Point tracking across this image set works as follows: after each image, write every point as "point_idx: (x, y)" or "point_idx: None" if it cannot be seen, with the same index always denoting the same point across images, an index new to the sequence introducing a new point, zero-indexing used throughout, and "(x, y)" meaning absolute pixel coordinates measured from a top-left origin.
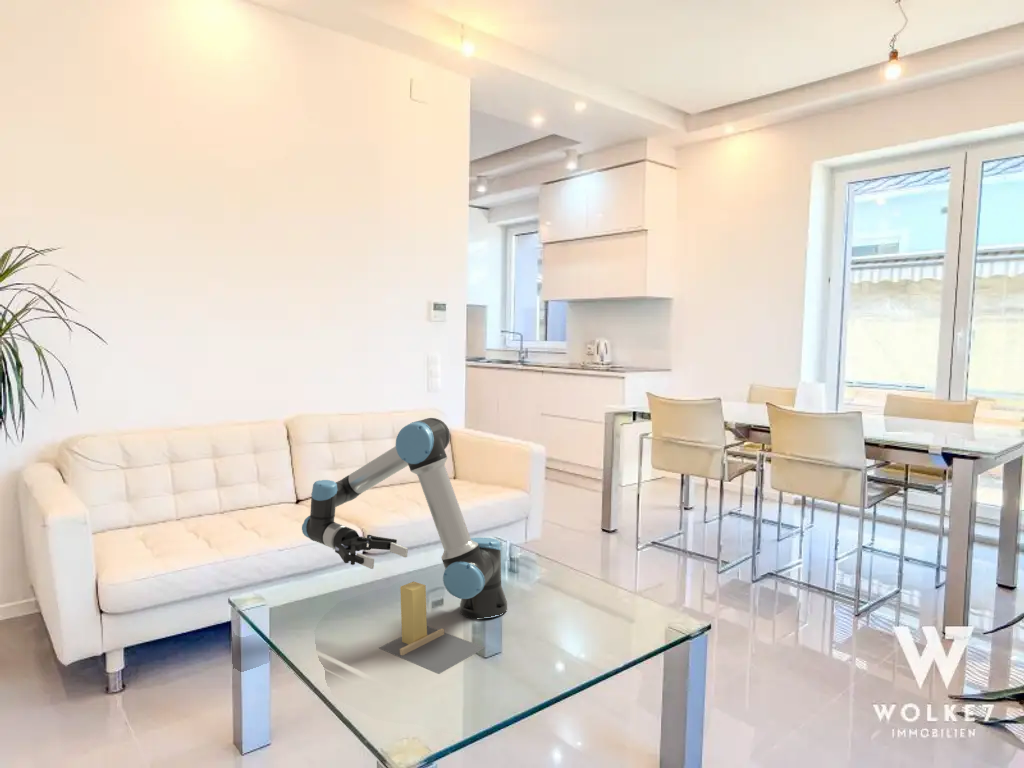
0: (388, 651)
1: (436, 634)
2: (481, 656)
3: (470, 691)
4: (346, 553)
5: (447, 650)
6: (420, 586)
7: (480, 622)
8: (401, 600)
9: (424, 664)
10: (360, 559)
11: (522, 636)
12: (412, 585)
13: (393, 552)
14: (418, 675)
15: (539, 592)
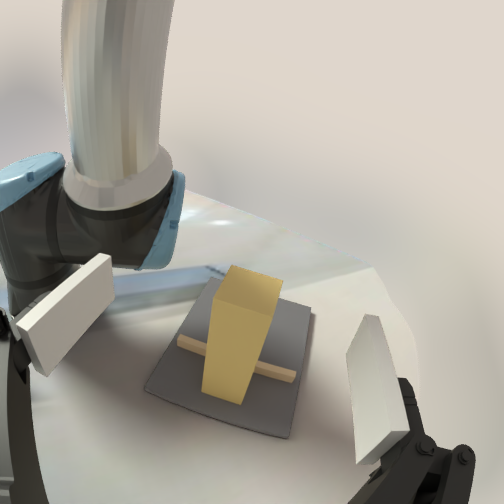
0: (292, 408)
1: (201, 343)
2: None
3: (314, 276)
4: (462, 472)
5: None
6: (246, 272)
7: None
8: (262, 344)
9: (300, 333)
10: (408, 384)
11: None
12: (248, 290)
13: (64, 354)
14: (320, 336)
15: None
